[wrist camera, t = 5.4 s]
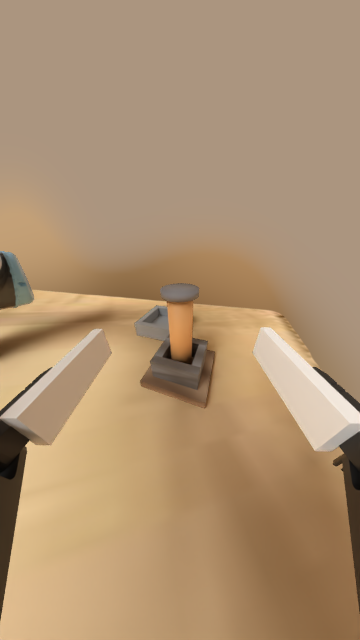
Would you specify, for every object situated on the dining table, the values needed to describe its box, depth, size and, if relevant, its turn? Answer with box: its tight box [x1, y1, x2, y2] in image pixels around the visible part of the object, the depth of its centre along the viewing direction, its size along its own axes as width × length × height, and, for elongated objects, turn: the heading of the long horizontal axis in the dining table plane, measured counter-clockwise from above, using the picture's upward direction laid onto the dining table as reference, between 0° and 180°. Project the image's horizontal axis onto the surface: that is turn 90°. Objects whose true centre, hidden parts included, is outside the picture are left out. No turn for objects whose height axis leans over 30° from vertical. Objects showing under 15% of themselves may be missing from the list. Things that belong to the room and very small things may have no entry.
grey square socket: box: [140, 334, 215, 408], centre depth 27 cm, size 12×12×6 cm
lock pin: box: [160, 283, 199, 365], centre depth 23 cm, size 6×6×16 cm
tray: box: [134, 305, 169, 341], centre depth 41 cm, size 13×13×4 cm
